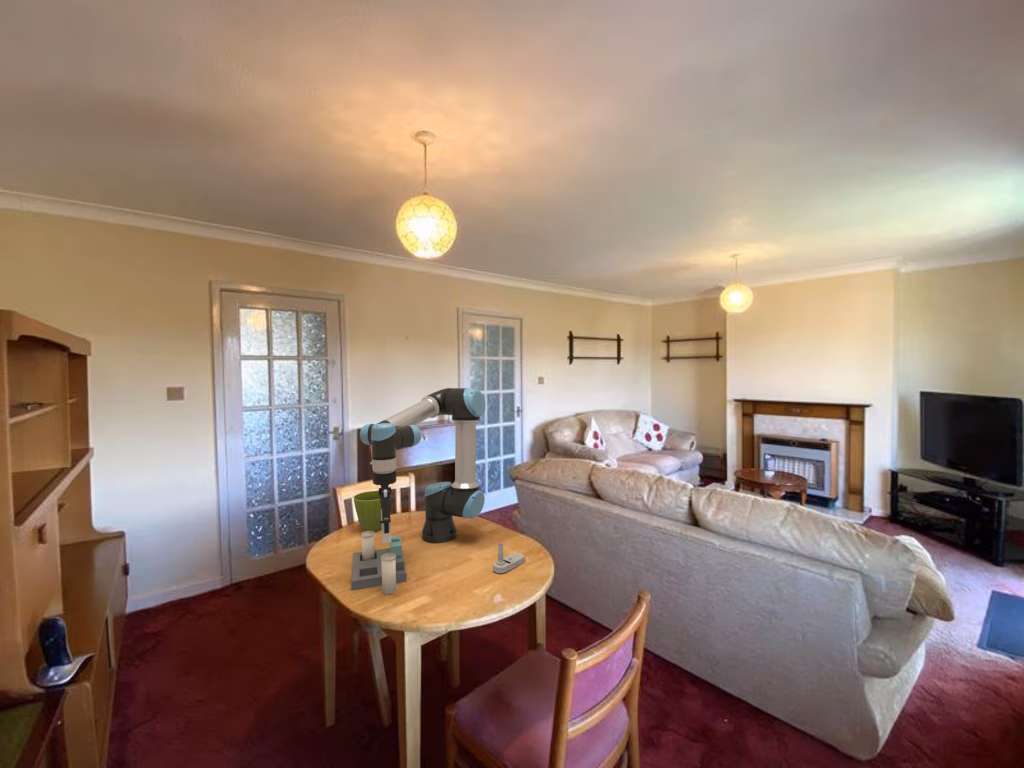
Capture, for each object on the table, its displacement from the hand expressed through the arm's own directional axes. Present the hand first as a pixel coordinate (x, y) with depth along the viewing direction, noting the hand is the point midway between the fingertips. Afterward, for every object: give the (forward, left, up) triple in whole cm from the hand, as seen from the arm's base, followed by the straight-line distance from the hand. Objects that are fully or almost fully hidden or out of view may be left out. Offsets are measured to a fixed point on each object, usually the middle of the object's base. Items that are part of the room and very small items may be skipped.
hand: (386, 534), depth 148 cm
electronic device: (-43, -4, -19) cm, 48 cm away
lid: (-4, -24, -16) cm, 29 cm away
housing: (+2, -17, -19) cm, 25 cm away
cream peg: (-1, 0, -19) cm, 19 cm away
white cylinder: (+6, -23, -19) cm, 30 cm away
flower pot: (+4, -60, -19) cm, 63 cm away
